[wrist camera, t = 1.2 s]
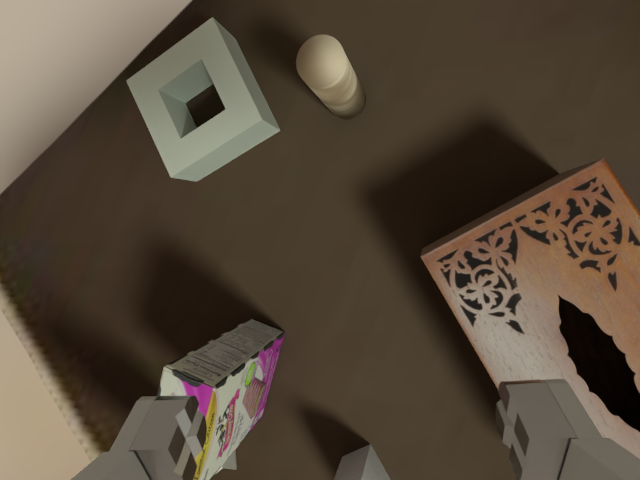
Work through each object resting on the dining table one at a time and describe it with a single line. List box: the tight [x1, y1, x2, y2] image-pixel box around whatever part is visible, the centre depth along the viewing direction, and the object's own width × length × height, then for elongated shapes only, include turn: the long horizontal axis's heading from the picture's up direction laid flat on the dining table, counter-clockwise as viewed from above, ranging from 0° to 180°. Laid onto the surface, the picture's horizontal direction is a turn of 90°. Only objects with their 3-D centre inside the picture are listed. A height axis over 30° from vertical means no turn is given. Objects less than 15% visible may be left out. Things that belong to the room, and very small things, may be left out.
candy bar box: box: [157, 319, 285, 480], centre depth 39 cm, size 11×5×16 cm, turn 165°
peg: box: [296, 35, 366, 120], centre depth 37 cm, size 4×4×11 cm
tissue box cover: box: [421, 158, 640, 459], centre depth 33 cm, size 26×14×10 cm, turn 31°
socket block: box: [126, 17, 280, 182], centre depth 44 cm, size 12×12×5 cm
